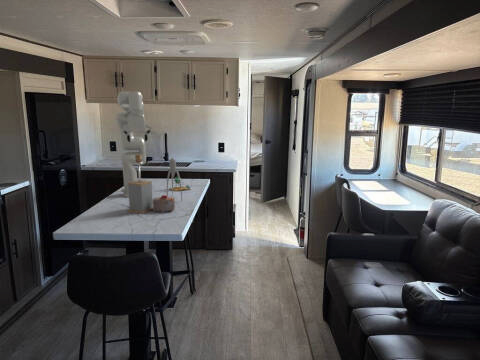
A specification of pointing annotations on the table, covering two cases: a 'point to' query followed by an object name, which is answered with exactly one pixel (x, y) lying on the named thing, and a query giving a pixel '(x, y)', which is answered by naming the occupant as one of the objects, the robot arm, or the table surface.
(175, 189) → the frog figurine
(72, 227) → the table surface
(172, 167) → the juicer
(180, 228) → the table surface
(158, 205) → the food item
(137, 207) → the beige tall block
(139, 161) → the knob
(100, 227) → the table surface
